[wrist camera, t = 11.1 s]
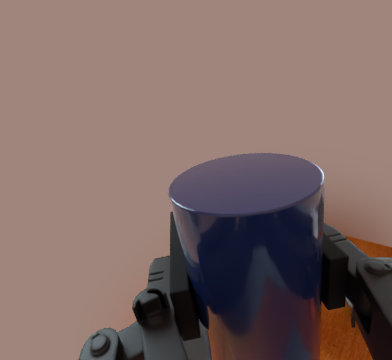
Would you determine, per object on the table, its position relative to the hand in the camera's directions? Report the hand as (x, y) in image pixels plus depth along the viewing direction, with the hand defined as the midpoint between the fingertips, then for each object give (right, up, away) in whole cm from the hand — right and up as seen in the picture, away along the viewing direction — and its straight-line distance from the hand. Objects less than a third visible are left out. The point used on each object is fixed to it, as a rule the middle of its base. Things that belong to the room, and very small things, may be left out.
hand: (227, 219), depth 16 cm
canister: (+1, -7, -3) cm, 8 cm away
